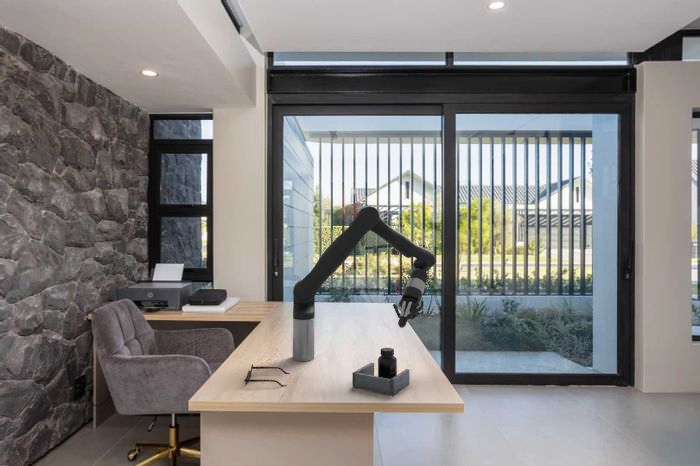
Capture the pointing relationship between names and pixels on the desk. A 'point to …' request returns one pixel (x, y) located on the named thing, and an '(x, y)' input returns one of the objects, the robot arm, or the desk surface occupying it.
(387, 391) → the bracket
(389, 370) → the supplement bottle
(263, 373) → the desk surface
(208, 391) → the desk surface
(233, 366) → the desk surface
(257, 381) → the eyeglasses
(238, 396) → the desk surface
